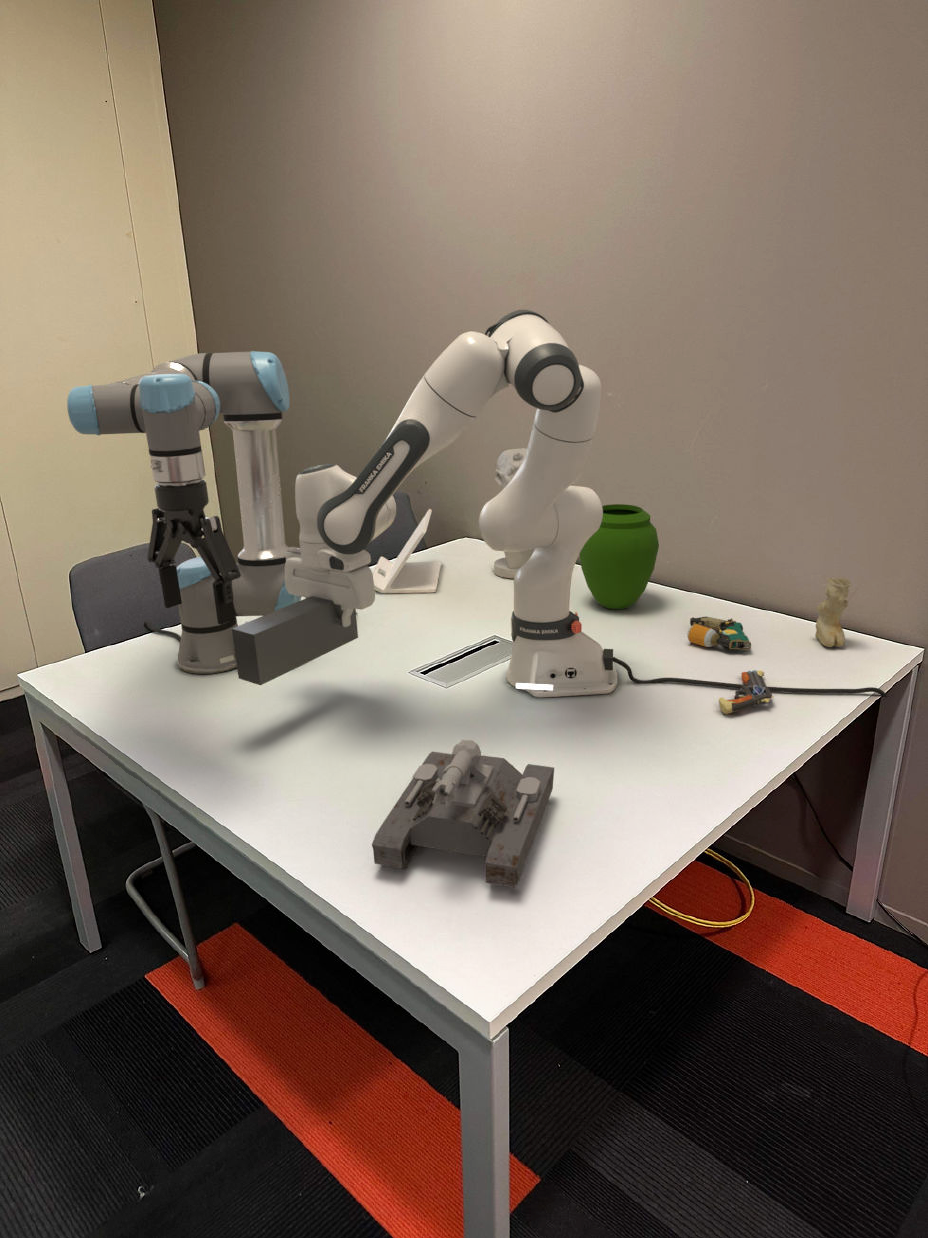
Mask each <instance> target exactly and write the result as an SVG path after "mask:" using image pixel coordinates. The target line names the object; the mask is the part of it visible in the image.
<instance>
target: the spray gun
mask: <svg viewBox="0 0 928 1238" xmlns="http://www.w3.org/2000/svg"><path fill="white" fill-rule="evenodd" d="M689 625H690V627H689V629H688V631H687V635H686V637H687V640H688V642H689V643H691V644H694V645H698V646H702V647H705V648H711V647H716V646H718V645H721V646H724V647H727V648H728V649H729V650H743V651H744V650H745V651H749V650H751V648H752V643H751V641H750V639H749V637H748V636H747V635H746V634H745V632H744V631H743V630H744V626H743V624H742V622H737V621H736V620H733V618H732V617H731V618H729V619H727V620H724V619H720V618H715V617H710V616H701V617H691V618H690V620H689Z"/></svg>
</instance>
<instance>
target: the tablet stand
mask: <svg viewBox="0 0 928 1238" xmlns="http://www.w3.org/2000/svg"><path fill="white" fill-rule="evenodd" d="M432 512H433V511H432V509H431V508H429V509H428V510H427V511H426V513H425V515H424V516H423V517H422V519H421V521H420V522H419V523H418V525H417V526H416V528H415V529H414V531H413V532H412V534H411V536H410V537H409V538H408V540H407V542H406V543H405V544H404V546H403V548H402V549H401V551H400V552H399V554H398V555H397V557H396V558H395V560H394V562H392V561H390V560H389V559H387V558H386V557H384V556H379V559H378V561H377V563H376V565H375V567H374V571H373V572H372V574H373V580H374V588H375V591H377V592H378V593H380V594H404V593H405V594H410V593H411V594H412V593H413V594H414V593H417V594H418V593H421V594H422V593H436V592H437V589H438V583H439V579H440V572H441V569H442V562H440V561H421V562H420V561H418V562H417V561H416V562H408V560H409V558H410V557H411V555H412V554H413V553H414V551H415V550H416V548H417V546H418V545H419V543H420V542H421V540H422V539H423V537H424V536H425V534H426V533H427V530H428V526H429V522H430V519H431V515H432Z"/></svg>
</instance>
